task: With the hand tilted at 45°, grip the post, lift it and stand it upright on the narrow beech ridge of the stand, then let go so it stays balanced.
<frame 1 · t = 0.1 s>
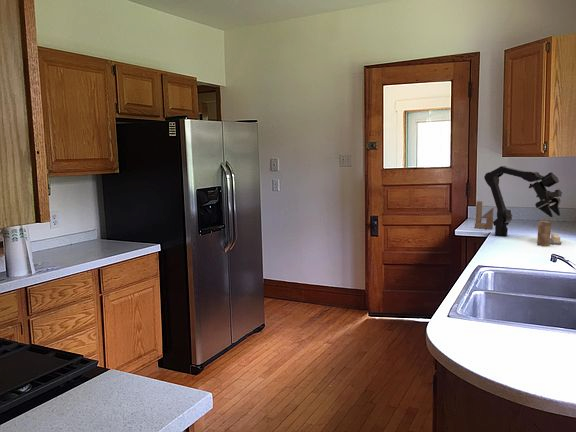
hand: (555, 216, 276), 15 cm above the worktop, tool tilted 35°, fingers open, 9 cm apart
post: (543, 245, 269), on the worktop
wooden angular frame: (483, 229, 329), on the worktop
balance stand: (555, 242, 279), on the worktop
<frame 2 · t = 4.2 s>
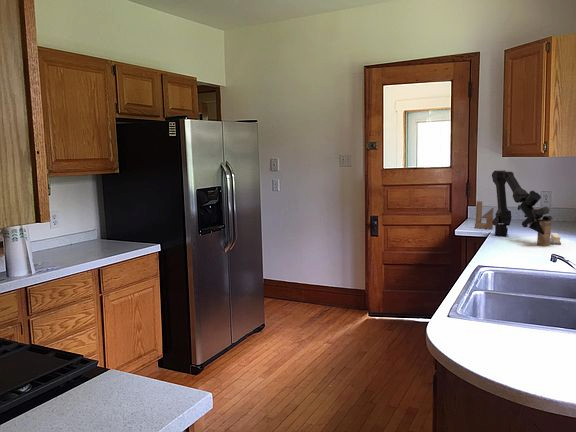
hand: (546, 233, 267), 7 cm above the worktop, tool tilted 45°, fingers closed on post, 4 cm apart
post: (543, 245, 269), on the worktop, touching gripper
everything else where it was.
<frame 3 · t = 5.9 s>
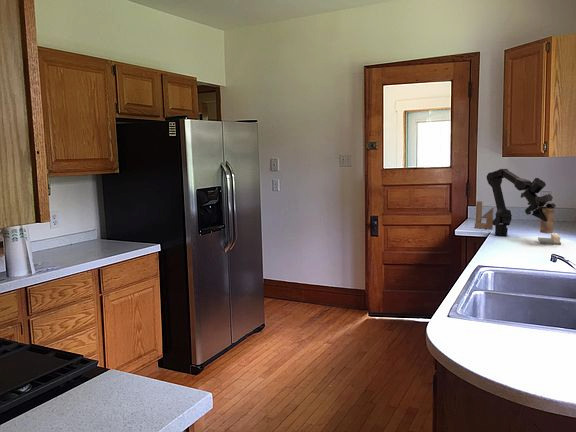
hand: (549, 220, 269), 13 cm above the worktop, tool tilted 45°, fingers closed on post, 4 cm apart
post: (546, 232, 271), point 7 cm above the worktop, touching gripper
everything else where it was.
when the fingers open (11 cm above the worktop, at t = 7.9 s): post stays where it is, resting on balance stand.
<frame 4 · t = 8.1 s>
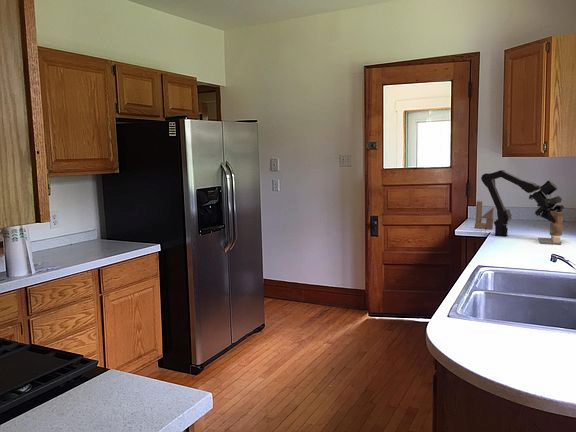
hand: (558, 222, 276), 12 cm above the worktop, tool tilted 45°, fingers open, 7 cm apart
post: (555, 235, 278), point 4 cm above the worktop, touching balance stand
everything else where it was.
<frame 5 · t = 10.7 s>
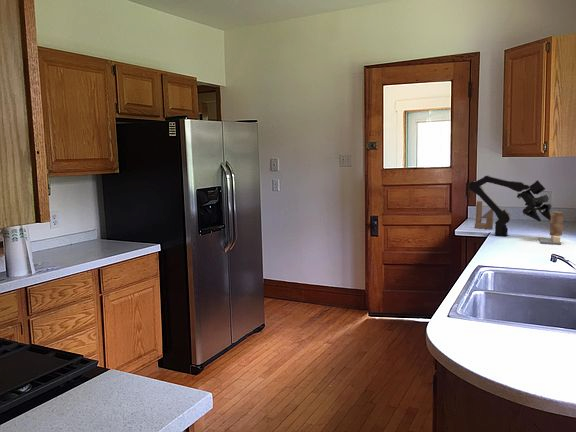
hand: (545, 220, 283), 11 cm above the worktop, tool tilted 45°, fingers open, 9 cm apart
nothing on the worktop moved.
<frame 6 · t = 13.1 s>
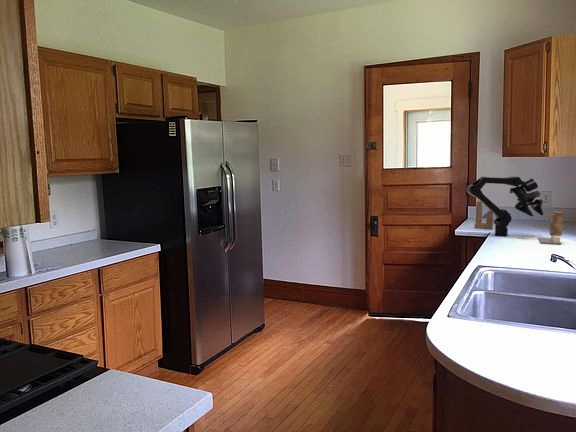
hand: (537, 215, 289), 14 cm above the worktop, tool tilted 45°, fingers open, 9 cm apart
nothing on the worktop moved.
at the end: post point 4.0 cm above the worktop; post tilted 0°; the gripper is holding nothing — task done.
